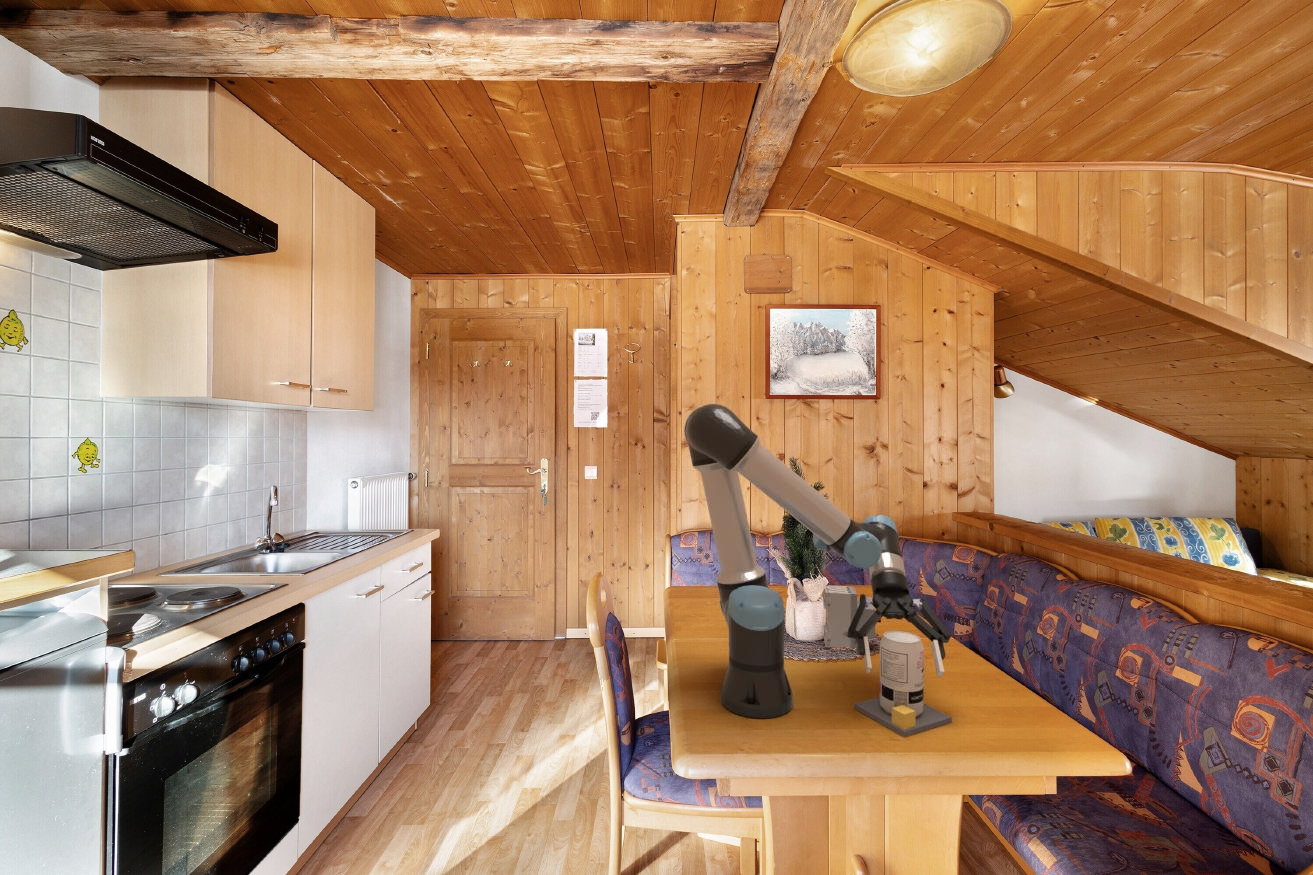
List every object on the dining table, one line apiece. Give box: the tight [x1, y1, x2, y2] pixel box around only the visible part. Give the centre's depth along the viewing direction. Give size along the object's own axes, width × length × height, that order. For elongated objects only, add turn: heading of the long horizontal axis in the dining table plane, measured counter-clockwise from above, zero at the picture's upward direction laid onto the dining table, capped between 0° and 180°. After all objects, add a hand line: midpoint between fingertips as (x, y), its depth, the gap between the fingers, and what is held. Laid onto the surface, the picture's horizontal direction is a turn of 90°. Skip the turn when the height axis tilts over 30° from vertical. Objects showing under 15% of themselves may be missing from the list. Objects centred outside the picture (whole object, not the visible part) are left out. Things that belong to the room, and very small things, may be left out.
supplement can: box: [879, 630, 925, 717], centre depth 122 cm, size 8×8×15 cm
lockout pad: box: [853, 696, 953, 738], centre depth 122 cm, size 13×13×4 cm
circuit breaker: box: [822, 585, 882, 649], centre depth 161 cm, size 8×14×15 cm, turn 78°
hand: (904, 672), depth 120 cm, fingers open, 13 cm apart
